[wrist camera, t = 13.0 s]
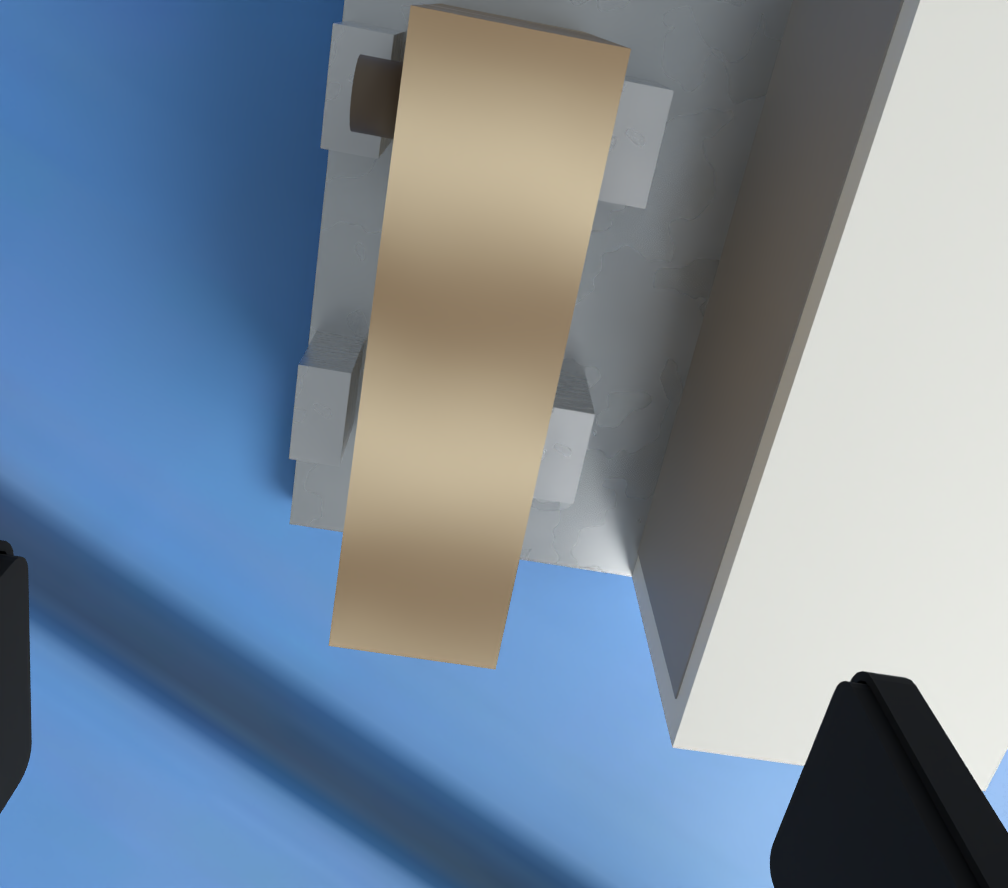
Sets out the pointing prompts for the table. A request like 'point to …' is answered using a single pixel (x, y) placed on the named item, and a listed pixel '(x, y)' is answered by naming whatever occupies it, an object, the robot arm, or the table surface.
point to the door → (466, 317)
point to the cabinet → (848, 398)
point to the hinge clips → (606, 272)
